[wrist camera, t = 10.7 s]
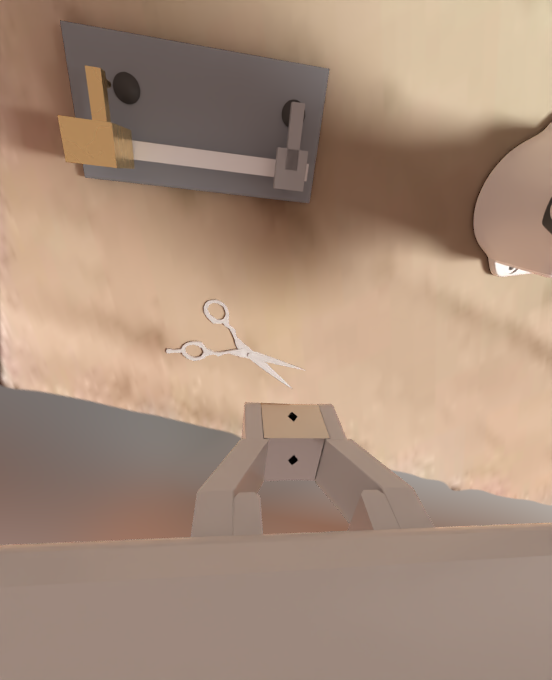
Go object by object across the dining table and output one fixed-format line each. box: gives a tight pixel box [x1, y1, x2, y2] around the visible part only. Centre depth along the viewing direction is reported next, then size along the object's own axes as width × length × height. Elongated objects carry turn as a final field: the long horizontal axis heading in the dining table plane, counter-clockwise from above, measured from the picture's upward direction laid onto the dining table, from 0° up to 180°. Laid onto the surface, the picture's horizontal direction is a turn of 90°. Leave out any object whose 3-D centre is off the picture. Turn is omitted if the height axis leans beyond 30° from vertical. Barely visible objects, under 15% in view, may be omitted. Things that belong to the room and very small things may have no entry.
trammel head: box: [57, 65, 135, 169], centre depth 27 cm, size 4×7×6 cm, turn 173°
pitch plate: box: [60, 20, 329, 203], centre depth 30 cm, size 24×12×4 cm, turn 83°
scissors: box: [166, 300, 304, 388], centre depth 45 cm, size 11×1×20 cm
